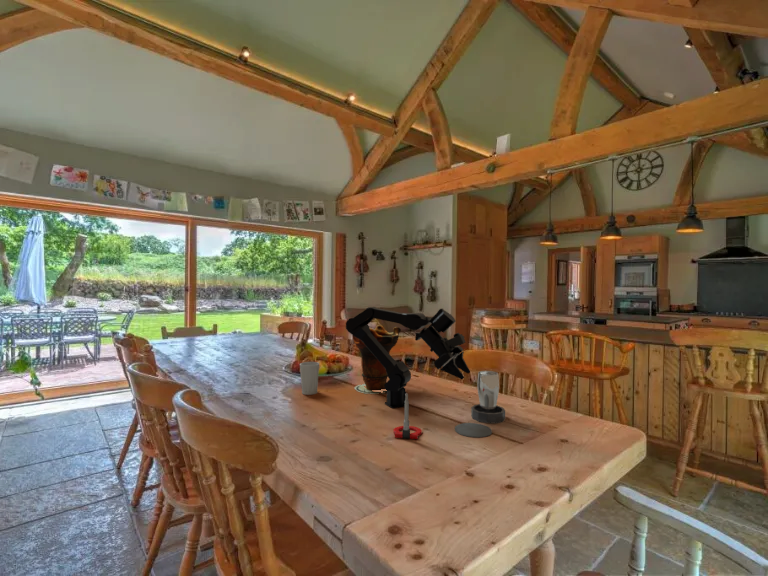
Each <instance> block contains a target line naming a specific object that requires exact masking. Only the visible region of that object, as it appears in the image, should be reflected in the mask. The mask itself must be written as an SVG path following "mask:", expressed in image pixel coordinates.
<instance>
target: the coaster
mask: <svg viewBox="0 0 768 576" xmlns="http://www.w3.org/2000/svg"><path fill="white" fill-rule="evenodd" d="M454 431H455V432H456V433H457V434H458V435H461V436H464V437H468V438H477V439H479V438H486V437H489V436H491V435H492V434H493V430H492V429H491V427H490V426H488V425H485V424H481V423H475V422H464V423H459V424H456V425H455V426H454Z"/></svg>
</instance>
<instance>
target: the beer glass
mask: <svg viewBox="0 0 768 576" xmlns="http://www.w3.org/2000/svg"><path fill="white" fill-rule="evenodd" d="M499 378H500V377H499V373H498V372H497V371H492V370H481V371H480V370H479V371H478V372H477V380H476V381H477V382H476V383H477V388H476V389H477V395H478V401H479V404H480V412H484V413H497V411H496V405H497V403H498V398H499V391H500V381H499Z"/></svg>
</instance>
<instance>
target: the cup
mask: <svg viewBox="0 0 768 576" xmlns="http://www.w3.org/2000/svg"><path fill="white" fill-rule="evenodd" d="M299 370H300V382H301V383H300V384H301V385H300V386H301V394H302V395H306V396H308V395H309V396H311V395H316V394H318V386H319V370H320V362H318V361H317V362H316V361H305V362H301V363H299Z"/></svg>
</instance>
